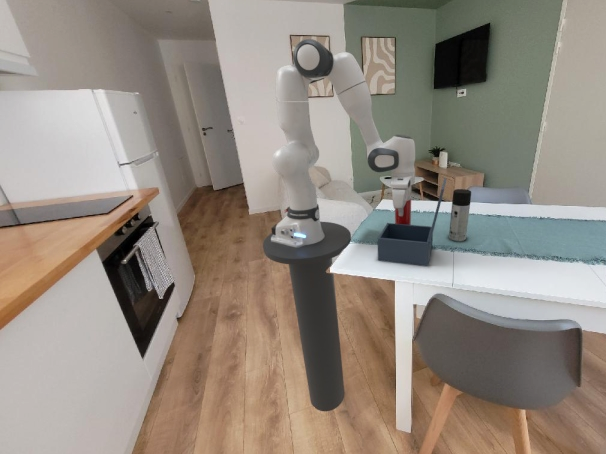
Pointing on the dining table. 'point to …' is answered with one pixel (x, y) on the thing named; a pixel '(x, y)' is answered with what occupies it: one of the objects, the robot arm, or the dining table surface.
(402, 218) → the can
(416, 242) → the dark blue box
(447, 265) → the dining table surface
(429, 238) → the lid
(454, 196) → the spray can
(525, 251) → the dining table surface
